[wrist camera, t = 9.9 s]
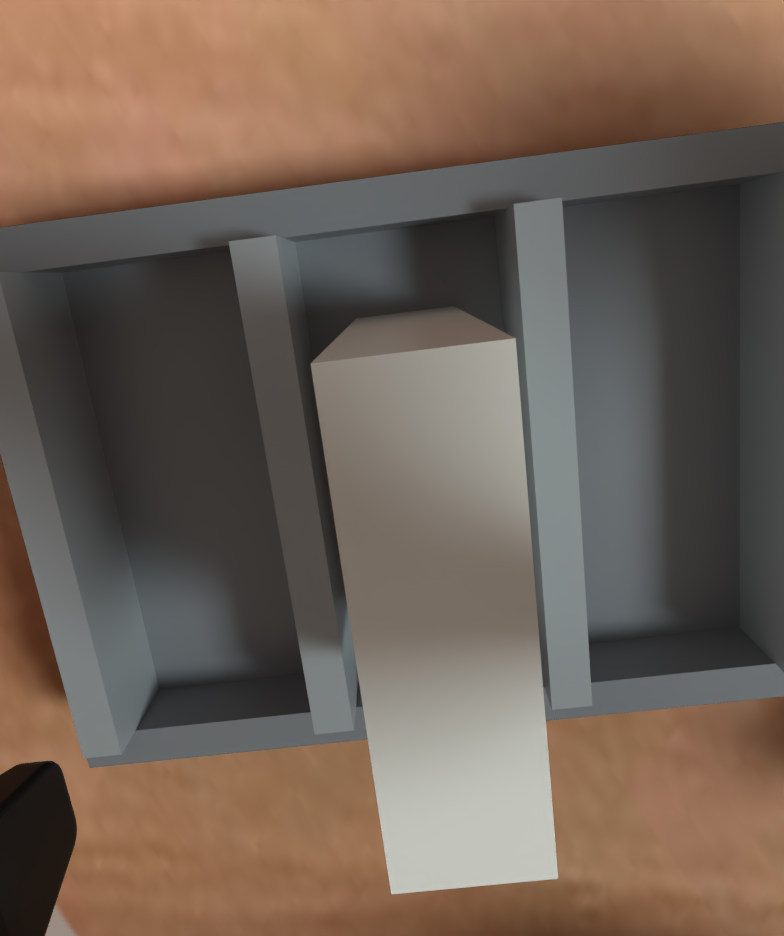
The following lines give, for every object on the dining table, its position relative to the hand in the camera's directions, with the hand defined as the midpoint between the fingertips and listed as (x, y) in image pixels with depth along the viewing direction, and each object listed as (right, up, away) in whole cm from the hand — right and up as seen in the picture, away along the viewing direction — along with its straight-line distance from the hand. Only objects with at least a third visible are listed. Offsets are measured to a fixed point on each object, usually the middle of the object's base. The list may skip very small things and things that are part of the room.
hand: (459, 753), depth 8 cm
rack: (0, +4, +12) cm, 13 cm away
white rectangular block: (0, +3, +11) cm, 12 cm away
